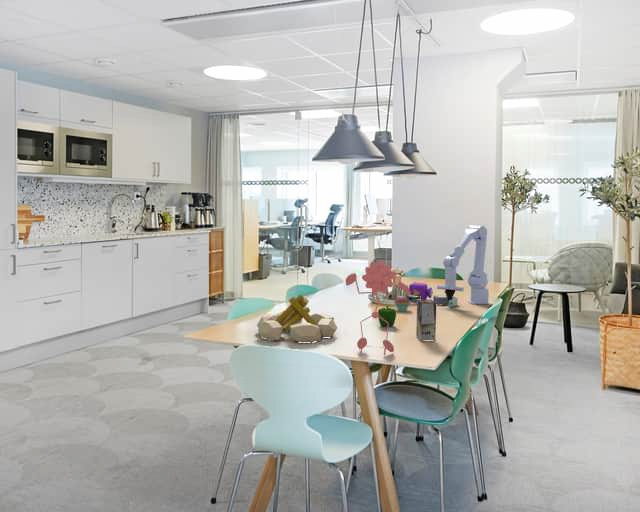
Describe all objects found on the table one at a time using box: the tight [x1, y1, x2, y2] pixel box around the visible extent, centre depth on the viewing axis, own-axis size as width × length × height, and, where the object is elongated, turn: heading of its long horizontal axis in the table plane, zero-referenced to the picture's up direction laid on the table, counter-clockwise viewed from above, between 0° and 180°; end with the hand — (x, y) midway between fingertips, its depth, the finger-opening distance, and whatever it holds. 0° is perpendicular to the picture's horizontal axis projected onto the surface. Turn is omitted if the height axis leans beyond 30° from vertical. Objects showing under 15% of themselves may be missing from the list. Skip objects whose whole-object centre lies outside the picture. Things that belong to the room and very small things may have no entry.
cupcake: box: [393, 292, 412, 312], centre depth 314 cm, size 9×8×12 cm
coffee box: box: [415, 299, 437, 341], centre depth 250 cm, size 9×6×16 cm
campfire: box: [256, 294, 338, 343], centre depth 256 cm, size 35×34×17 cm
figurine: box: [344, 260, 410, 356], centre depth 228 cm, size 15×26×35 cm, turn 69°
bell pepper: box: [377, 303, 397, 327], centre depth 275 cm, size 8×8×10 cm
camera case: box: [432, 295, 457, 306], centre depth 335 cm, size 11×8×4 cm
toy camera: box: [408, 281, 434, 300], centre depth 347 cm, size 11×14×10 cm
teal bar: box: [448, 297, 458, 308], centre depth 327 cm, size 10×2×4 cm, turn 145°
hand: (449, 303), depth 326 cm, fingers closed
